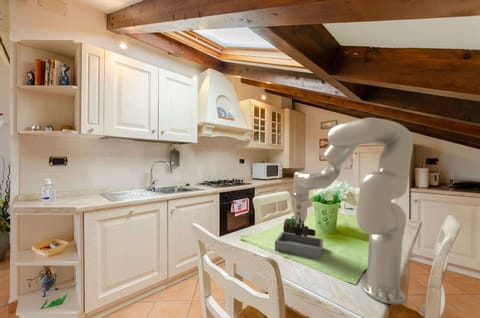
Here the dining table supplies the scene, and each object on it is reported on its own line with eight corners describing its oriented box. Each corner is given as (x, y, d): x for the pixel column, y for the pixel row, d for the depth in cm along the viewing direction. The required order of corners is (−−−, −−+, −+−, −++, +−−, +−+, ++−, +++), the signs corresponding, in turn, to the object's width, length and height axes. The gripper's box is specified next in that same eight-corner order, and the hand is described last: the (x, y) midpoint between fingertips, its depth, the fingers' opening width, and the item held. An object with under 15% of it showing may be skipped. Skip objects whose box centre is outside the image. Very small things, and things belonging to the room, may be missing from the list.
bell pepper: (288, 235, 126) (289, 218, 125) (281, 230, 134) (282, 214, 133) (301, 234, 128) (302, 217, 128) (294, 229, 136) (294, 213, 136)
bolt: (314, 241, 105) (283, 234, 112) (316, 233, 109) (286, 226, 115) (314, 233, 102) (282, 226, 109) (316, 225, 106) (285, 218, 113)
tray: (320, 260, 98) (320, 250, 98) (274, 250, 107) (275, 241, 107) (322, 247, 111) (323, 239, 111) (281, 239, 120) (282, 231, 120)
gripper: (306, 201, 99) (304, 240, 100) (311, 194, 114) (309, 229, 115) (289, 199, 102) (288, 237, 103) (296, 193, 117) (295, 226, 118)
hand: (299, 232), depth 109 cm, fingers closed on bolt, 5 cm apart
